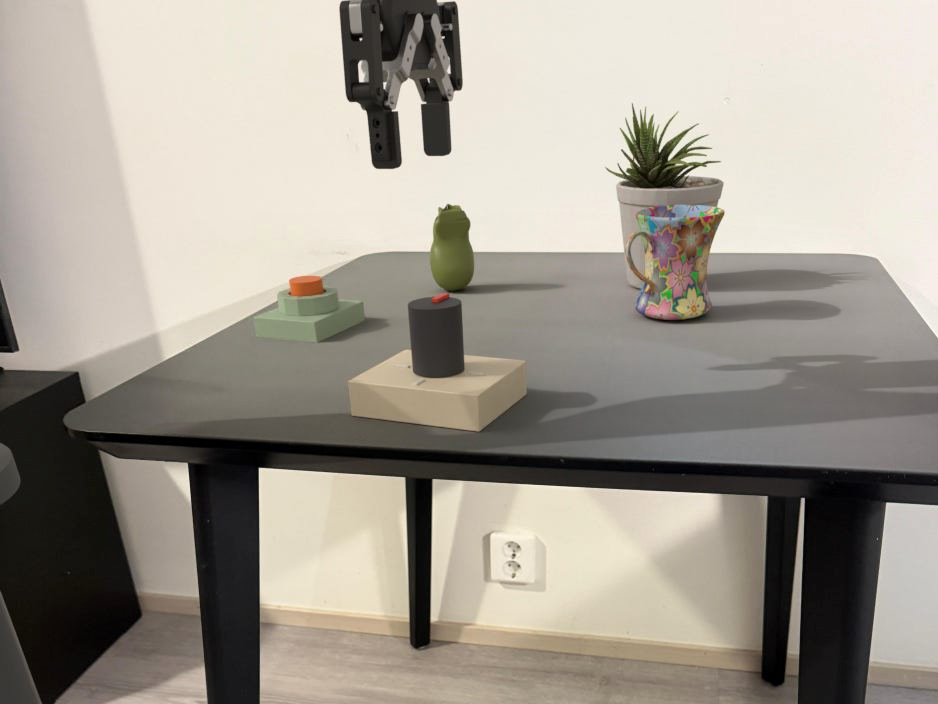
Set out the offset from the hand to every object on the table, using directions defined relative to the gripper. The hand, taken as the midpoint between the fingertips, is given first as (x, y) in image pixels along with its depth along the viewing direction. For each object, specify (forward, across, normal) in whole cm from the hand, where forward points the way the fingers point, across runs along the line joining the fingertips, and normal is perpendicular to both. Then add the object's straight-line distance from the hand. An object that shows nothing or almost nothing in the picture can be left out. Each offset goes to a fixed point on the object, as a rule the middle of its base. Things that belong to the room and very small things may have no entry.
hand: (413, 161), depth 72 cm
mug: (+19, -33, +13) cm, 40 cm away
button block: (+19, -17, -24) cm, 35 cm away
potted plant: (+19, -49, +8) cm, 53 cm away
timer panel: (+19, +2, +2) cm, 19 cm away
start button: (+15, -17, -24) cm, 33 cm away
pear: (+19, -39, -16) cm, 46 cm away
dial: (+16, +2, +2) cm, 16 cm away
